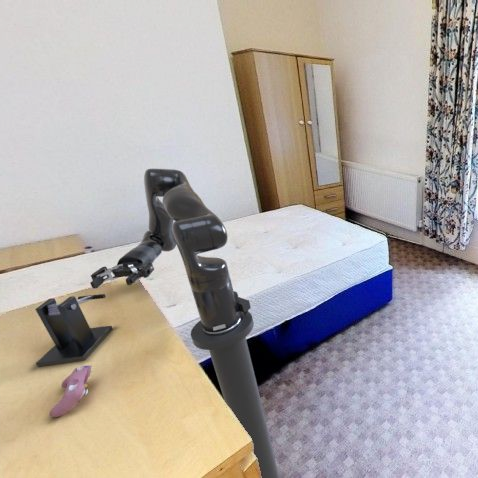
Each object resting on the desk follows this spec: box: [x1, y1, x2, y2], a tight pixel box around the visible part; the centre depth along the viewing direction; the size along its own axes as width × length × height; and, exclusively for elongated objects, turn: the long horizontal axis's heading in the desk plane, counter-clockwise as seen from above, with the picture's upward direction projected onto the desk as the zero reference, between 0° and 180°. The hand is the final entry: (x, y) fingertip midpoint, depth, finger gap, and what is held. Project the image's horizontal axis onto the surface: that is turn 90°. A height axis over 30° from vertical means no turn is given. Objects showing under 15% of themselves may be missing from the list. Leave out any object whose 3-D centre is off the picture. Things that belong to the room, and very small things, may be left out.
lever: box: [47, 293, 106, 315], centre depth 83 cm, size 13×6×2 cm, turn 16°
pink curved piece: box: [49, 365, 92, 418], centre depth 68 cm, size 10×5×7 cm, turn 34°
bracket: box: [34, 295, 114, 368], centre depth 80 cm, size 12×9×14 cm
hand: (110, 284), depth 96 cm, fingers open, 8 cm apart
